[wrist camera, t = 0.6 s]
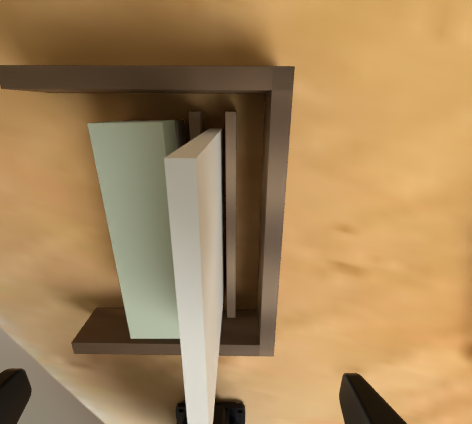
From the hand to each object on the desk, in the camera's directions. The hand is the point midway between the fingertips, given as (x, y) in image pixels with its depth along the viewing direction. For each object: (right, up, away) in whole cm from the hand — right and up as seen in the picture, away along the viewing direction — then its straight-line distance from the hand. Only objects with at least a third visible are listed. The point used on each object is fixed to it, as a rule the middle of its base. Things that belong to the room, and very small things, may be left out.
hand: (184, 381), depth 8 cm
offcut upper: (-4, +4, +10) cm, 11 cm away
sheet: (0, +4, +11) cm, 12 cm away
